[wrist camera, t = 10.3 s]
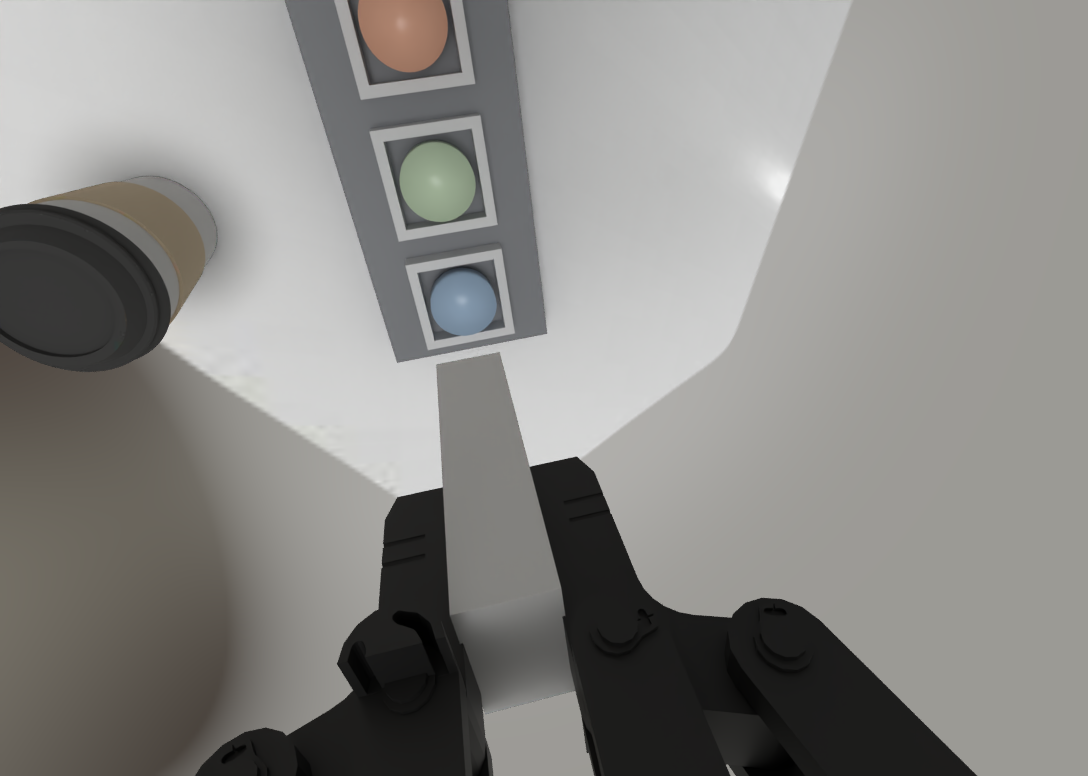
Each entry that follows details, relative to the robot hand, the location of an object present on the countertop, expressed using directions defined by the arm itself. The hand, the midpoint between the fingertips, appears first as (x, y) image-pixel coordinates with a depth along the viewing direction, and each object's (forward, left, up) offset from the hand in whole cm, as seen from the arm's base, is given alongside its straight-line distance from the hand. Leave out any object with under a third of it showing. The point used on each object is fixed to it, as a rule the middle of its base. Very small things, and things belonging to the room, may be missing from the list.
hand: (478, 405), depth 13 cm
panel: (0, 0, -32) cm, 32 cm away
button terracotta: (0, -9, -29) cm, 30 cm away
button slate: (0, +9, -29) cm, 30 cm away
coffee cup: (+20, +1, -33) cm, 38 cm away
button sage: (0, 0, -29) cm, 29 cm away
